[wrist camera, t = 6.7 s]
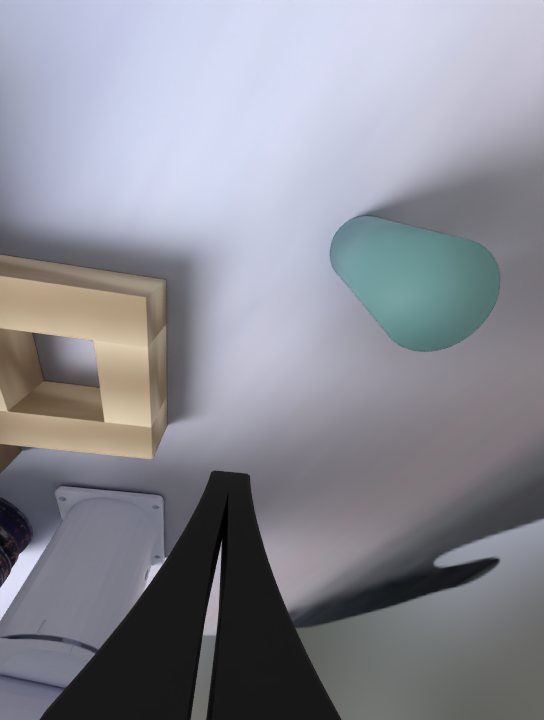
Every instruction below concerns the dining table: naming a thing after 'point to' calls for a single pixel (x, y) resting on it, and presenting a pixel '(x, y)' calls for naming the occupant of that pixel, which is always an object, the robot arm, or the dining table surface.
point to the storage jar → (12, 537)
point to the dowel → (416, 280)
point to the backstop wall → (8, 455)
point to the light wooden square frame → (112, 349)
